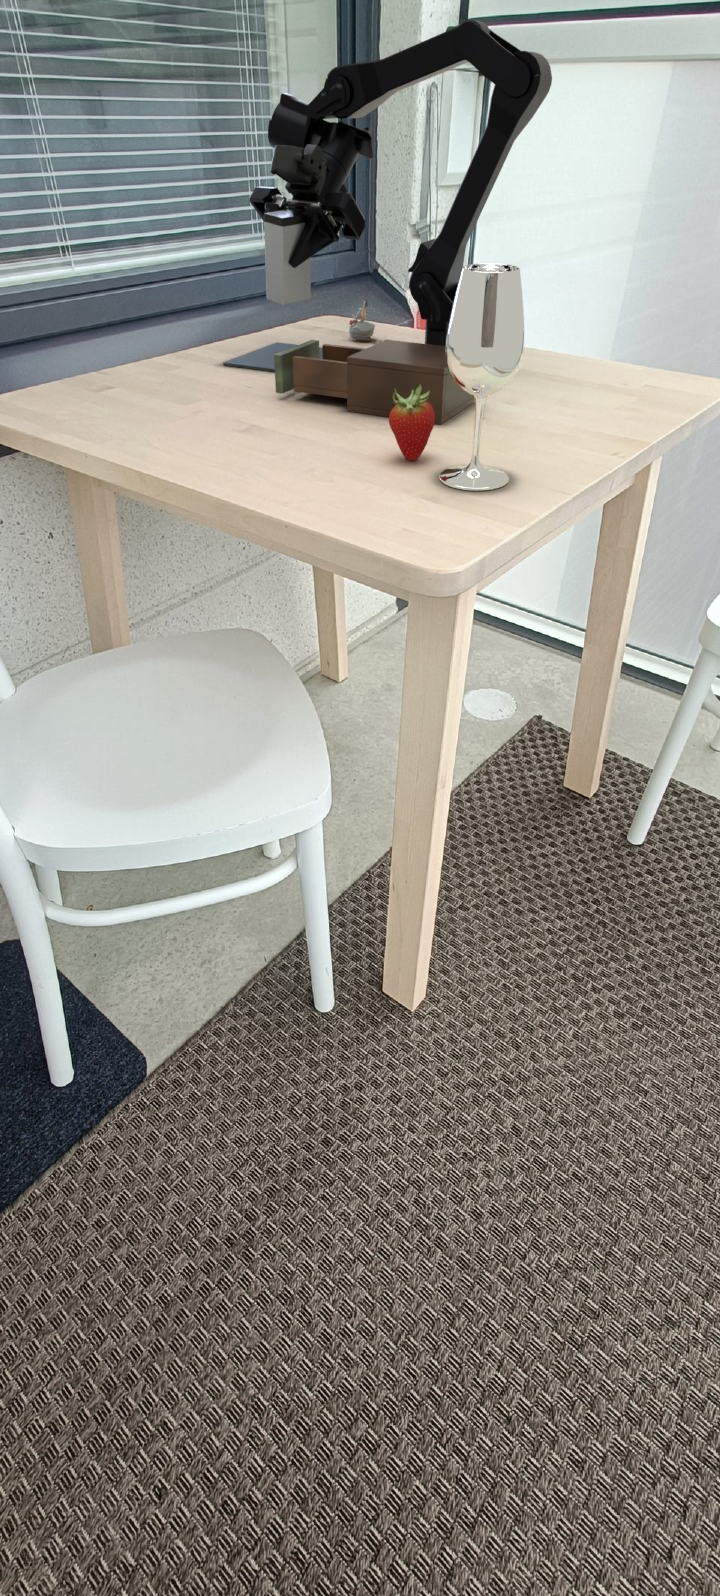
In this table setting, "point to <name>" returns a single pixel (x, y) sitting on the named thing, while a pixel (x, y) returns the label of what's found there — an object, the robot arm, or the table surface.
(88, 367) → the table surface
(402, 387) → the cabinet
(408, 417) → the fruit
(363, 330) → the figurine
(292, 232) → the grey canister
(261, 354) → the mat
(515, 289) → the wineglass
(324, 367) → the drawer
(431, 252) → the robot arm
